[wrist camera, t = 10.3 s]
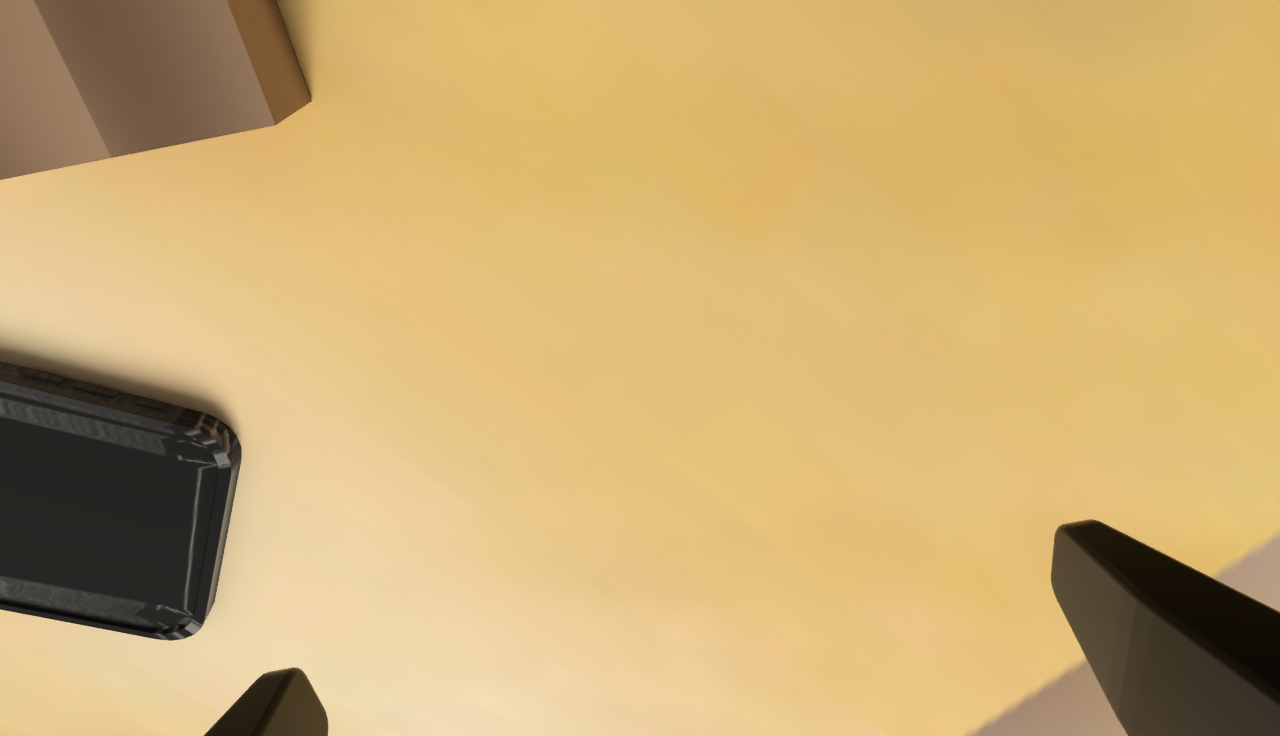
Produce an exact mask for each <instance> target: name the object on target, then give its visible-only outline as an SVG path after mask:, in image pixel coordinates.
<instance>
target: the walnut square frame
mask: <svg viewBox="0 0 1280 736" xmlns="http://www.w3.org/2000/svg"><path fill="white" fill-rule="evenodd" d="M311 101H312V100H311V97H310V94H309V92H308V89H307V86H306V83H305V81H304V78H303V75H302V72H301V70H300V67H299V64H298V61H297V58H296V56H295V53H294V50H293V47H292V45H291V42H290V39H289V36H288V34H287V31H286V28H285V25H284V22H283V20H282V17H281V14H280V11H279V9H278V6H277V3H276V0H0V180H2V179H7V178H12V177H17V176H22V175H27V174H32V173H37V172H42V171H47V170H52V169H57V168H62V167H67V166H72V165H77V164H82V163H87V162H92V161H97V160H102V159H108V158H113V157H118V156H123V155H128V154H133V153H138V152H143V151H148V150H153V149H158V148H163V147H168V146H173V145H178V144H183V143H188V142H193V141H198V140H203V139H208V138H213V137H218V136H223V135H228V134H233V133H239V132H244V131H249V130H254V129H259V128H264V127H269V126H274V125H276V124H278V123H279V122H281V121H282V120H284V119H285V118H287V117H288V116H290V115H291V114H293V113H294V112H296V111H297V110H299V109H300V108H302V107H303V106H305V105H306V104H308V103H309V102H311Z"/></svg>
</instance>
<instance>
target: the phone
mask: <svg viewBox="0 0 1280 736" xmlns="http://www.w3.org/2000/svg"><path fill="white" fill-rule="evenodd" d="M240 463H241V446H240V443H239V441H238V439H237V436H236V435H235V434H234V433H233V431H232V430H231V429H230V428H229V427H228V426H227V425H226V424H224V423H223V422H221V421H220V420H218V419H217V418H215V417H213V416H210V415H208V414H205V413H202V412H199V411H195V410H191V409H187V408H183V407H179V406H175V405H171V404H167V403H163V402H159V401H155V400H151V399H147V398H143V397H139V396H136V395H132V394H128V393H124V392H120V391H116V390H112V389H108V388H104V387H100V386H96V385H92V384H88V383H84V382H80V381H76V380H72V379H68V378H64V377H60V376H56V375H52V374H48V373H45V372H41V371H37V370H33V369H29V368H25V367H21V366H17V365H13V364H9V363H5V362H1V361H0V609H1V610H7V611H12V612H17V613H22V614H28V615H33V616H38V617H43V618H49V619H54V620H59V621H64V622H70V623H75V624H80V625H85V626H91V627H96V628H101V629H106V630H112V631H117V632H122V633H127V634H133V635H138V636H143V637H148V638H154V639H160V640H179V639H184V638H187V637H189V636H192V635H194V634H195V633H196V632H197V631H198V630H200V629H201V627H202V626H203V624H204V622H205V620H206V618H207V616H208V614H209V612H210V610H211V608H212V606H213V604H214V602H215V596H216V591H217V586H218V581H219V575H220V570H221V565H222V559H223V554H224V549H225V543H226V538H227V533H228V527H229V522H230V517H231V511H232V506H233V501H234V495H235V490H236V485H237V479H238V474H239V469H240Z"/></svg>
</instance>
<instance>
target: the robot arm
mask: <svg viewBox="0 0 1280 736" xmlns="http://www.w3.org/2000/svg"><path fill="white" fill-rule="evenodd" d="M1051 583H1052V587H1053V591H1054V594H1055V596H1056V599H1057V601H1058V603H1059V605H1060V607H1061V609H1062V611H1063V613H1064V615H1065V617H1066V619H1067V621H1068V623H1069V625H1070V626H1071V628H1072V630H1073V632H1074V634H1075V636H1076V638H1077V640H1078V642H1079V644H1080V646H1081V648H1082V650H1083V652H1084V654H1085V656H1086V658H1087V660H1088V662H1089V664H1090V666H1091V668H1092V670H1093V672H1094V674H1095V676H1096V678H1097V680H1098V682H1099V684H1100V686H1101V688H1102V690H1103V692H1104V694H1105V696H1106V698H1107V700H1108V702H1109V703H1110V705H1111V707H1112V709H1113V711H1114V713H1115V715H1116V716H1117V718H1118V720H1119V721H1120V723H1121V724H1122V726H1123V728H1124V730H1125V731H1126V733H1127V735H1128V736H1280V612H1279V611H1277V610H1275V609H1273V608H1271V607H1269V606H1267V605H1265V604H1263V603H1261V602H1259V601H1257V600H1255V599H1253V598H1251V597H1249V596H1247V595H1245V594H1243V593H1241V592H1239V591H1237V590H1235V589H1233V588H1231V587H1229V586H1227V585H1225V584H1223V583H1221V582H1219V581H1217V580H1215V579H1213V578H1211V577H1209V576H1207V575H1205V574H1203V573H1201V572H1200V571H1198V570H1196V569H1194V568H1192V567H1190V566H1188V565H1186V564H1184V563H1182V562H1180V561H1178V560H1176V559H1174V558H1172V557H1170V556H1168V555H1166V554H1164V553H1162V552H1160V551H1158V550H1156V549H1154V548H1152V547H1150V546H1148V545H1146V544H1144V543H1142V542H1140V541H1138V540H1136V539H1134V538H1132V537H1130V536H1128V535H1126V534H1124V533H1122V532H1120V531H1118V530H1116V529H1114V528H1112V527H1110V526H1108V525H1106V524H1104V523H1102V522H1100V521H1097V520H1084V521H1078V522H1073V523H1067V524H1063V525H1061V526H1059V527H1058V528H1057V530H1056V532H1055V538H1054V548H1053V559H1052V570H1051ZM204 736H328V719H327V715H326V711H325V709H324V707H323V705H322V703H321V702H320V700H319V698H318V696H317V694H316V693H315V691H314V689H313V687H312V685H311V683H310V682H309V680H308V678H307V676H306V675H305V673H304V672H303V671H302V670H301V669H299V668H294V667H293V668H288V669H282V670H277V671H272V672H268V673H265V674H263V675H262V676H260V677H259V678H258V679H257V680H256V681H255V682H254V683H253V684H252V685H251V686H250V687H249V689H248V690H247V691H246V692H245V693H244V694H243V695H242V696H241V697H240V698H239V699H238V700H237V701H236V702H235V703H234V704H233V705H232V706H231V708H230V709H229V710H228V711H227V712H226V713H225V714H224V715H223V716H222V717H221V718H220V719H219V720H218V721H217V722H216V723H215V724H214V725H213V726H212V728H211V729H210V730H209V731H208V732H207V733H206V734H205V735H204Z"/></svg>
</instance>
